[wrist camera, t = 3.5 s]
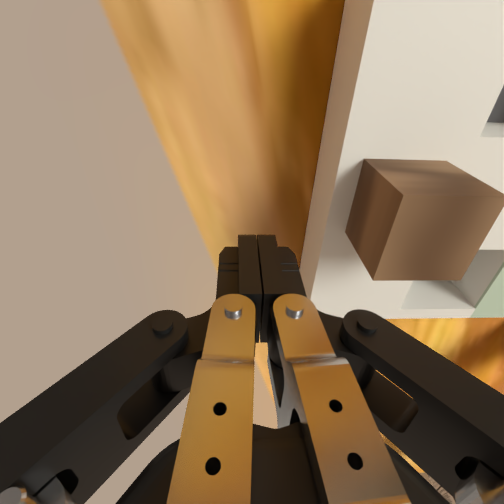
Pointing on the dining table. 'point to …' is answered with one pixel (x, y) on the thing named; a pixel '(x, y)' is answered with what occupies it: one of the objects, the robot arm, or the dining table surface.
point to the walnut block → (419, 219)
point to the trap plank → (409, 144)
